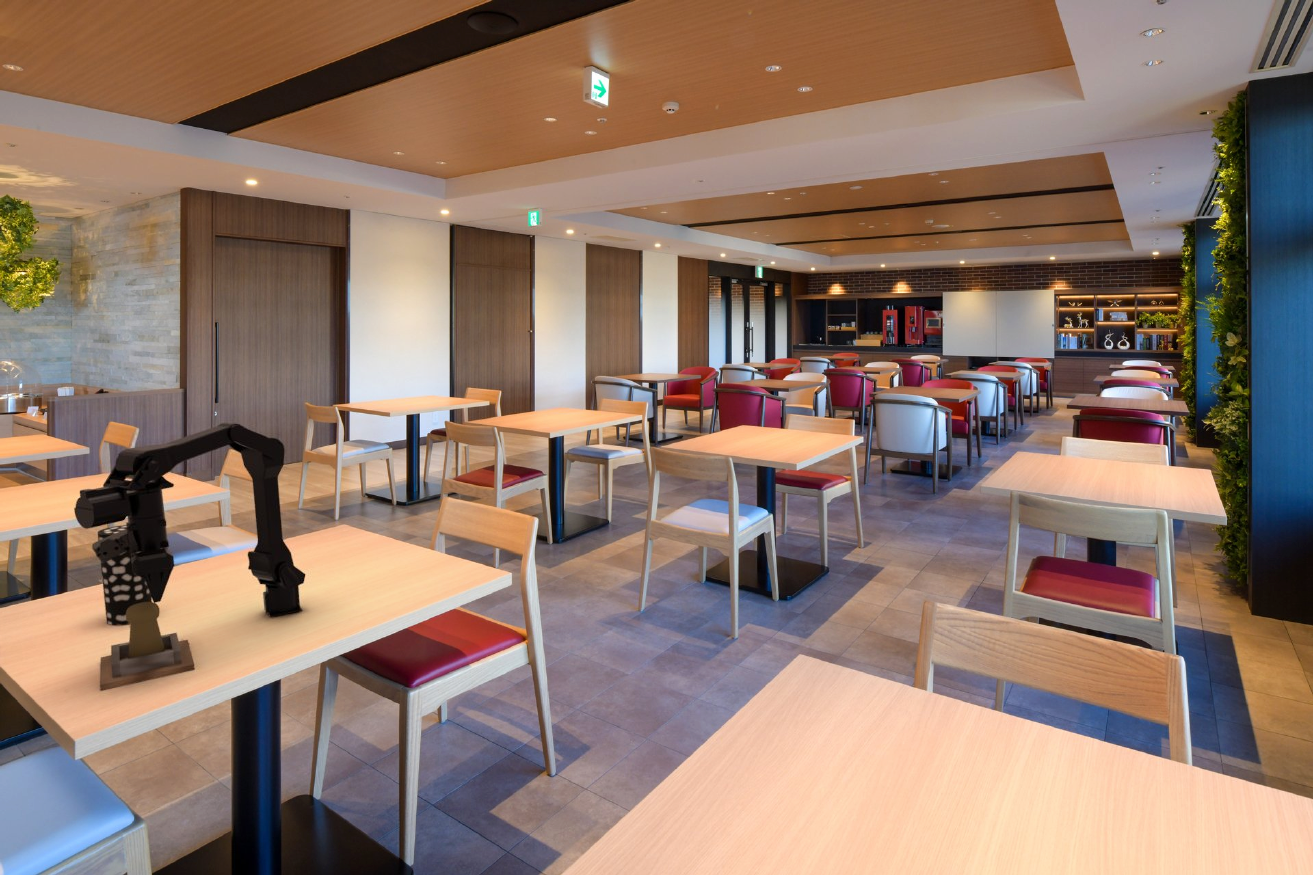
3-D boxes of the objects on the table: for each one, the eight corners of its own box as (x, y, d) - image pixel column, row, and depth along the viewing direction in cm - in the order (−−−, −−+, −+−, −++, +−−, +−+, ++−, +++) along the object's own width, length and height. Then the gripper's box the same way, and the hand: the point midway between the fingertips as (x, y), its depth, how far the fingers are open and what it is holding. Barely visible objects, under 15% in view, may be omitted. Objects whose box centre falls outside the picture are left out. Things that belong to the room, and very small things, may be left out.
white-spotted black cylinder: (161, 614, 164) (153, 527, 161) (121, 627, 156) (112, 536, 154) (138, 608, 167) (130, 523, 165) (98, 621, 160) (88, 531, 157)
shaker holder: (188, 644, 148) (186, 627, 148) (194, 669, 137) (193, 651, 136) (101, 662, 140) (99, 644, 139) (100, 690, 129) (98, 671, 128)
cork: (147, 668, 135) (141, 611, 133) (119, 666, 136) (113, 608, 134) (174, 654, 141) (169, 599, 139) (147, 652, 142) (142, 597, 140)
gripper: (92, 512, 141) (102, 590, 143) (92, 533, 126) (103, 620, 128) (162, 503, 147) (170, 578, 150) (169, 522, 133) (179, 605, 135)
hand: (155, 594), depth 140 cm, fingers open, 9 cm apart
